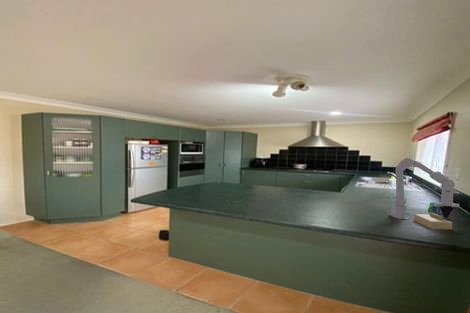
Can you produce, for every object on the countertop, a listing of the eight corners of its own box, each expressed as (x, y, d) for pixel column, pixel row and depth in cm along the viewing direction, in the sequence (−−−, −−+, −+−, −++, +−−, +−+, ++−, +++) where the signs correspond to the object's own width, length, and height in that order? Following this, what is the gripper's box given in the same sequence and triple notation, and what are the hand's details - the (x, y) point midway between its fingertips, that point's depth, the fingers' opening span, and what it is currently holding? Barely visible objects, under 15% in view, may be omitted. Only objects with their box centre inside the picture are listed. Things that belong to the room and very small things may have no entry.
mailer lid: (414, 214, 162) (414, 210, 162) (432, 215, 161) (432, 211, 161) (432, 222, 146) (432, 217, 146) (452, 223, 145) (452, 218, 145)
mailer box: (413, 220, 162) (414, 214, 162) (431, 221, 161) (432, 215, 161) (431, 228, 146) (432, 222, 146) (451, 229, 145) (452, 223, 145)
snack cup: (433, 219, 165) (434, 205, 165) (421, 215, 176) (422, 202, 175) (455, 220, 165) (456, 206, 165) (442, 215, 176) (443, 202, 175)
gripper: (440, 198, 149) (439, 218, 149) (464, 198, 148) (462, 219, 148) (431, 195, 156) (430, 215, 156) (454, 196, 155) (453, 216, 155)
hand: (445, 217), depth 153 cm, fingers closed
